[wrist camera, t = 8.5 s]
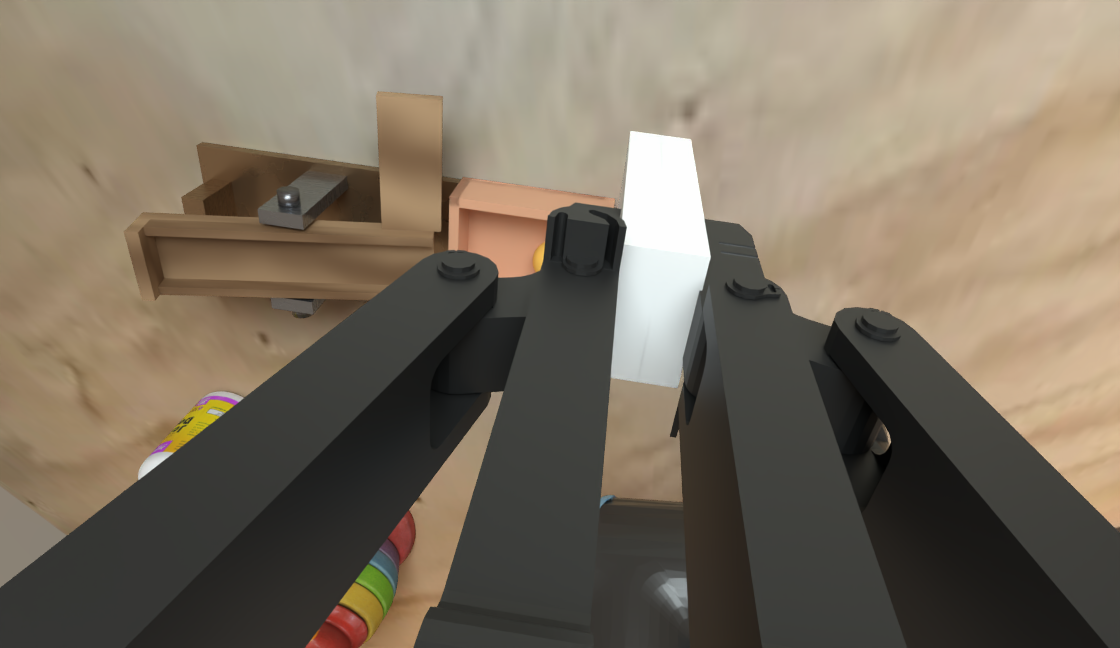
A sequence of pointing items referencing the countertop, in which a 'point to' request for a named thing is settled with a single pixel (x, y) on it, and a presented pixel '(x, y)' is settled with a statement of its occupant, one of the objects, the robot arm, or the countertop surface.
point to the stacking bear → (368, 594)
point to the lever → (309, 229)
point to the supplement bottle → (191, 426)
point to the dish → (506, 220)
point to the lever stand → (293, 195)
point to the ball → (538, 257)
